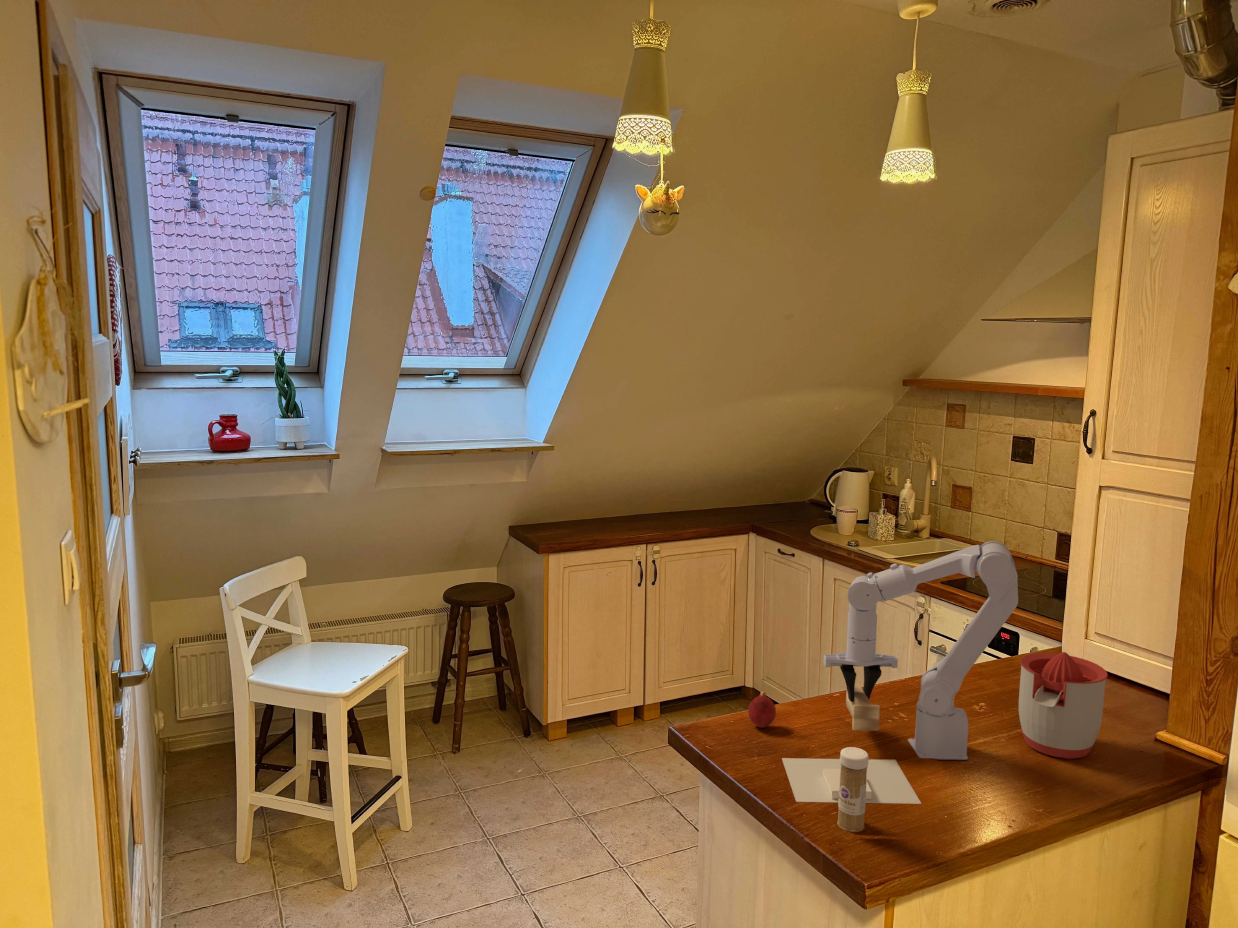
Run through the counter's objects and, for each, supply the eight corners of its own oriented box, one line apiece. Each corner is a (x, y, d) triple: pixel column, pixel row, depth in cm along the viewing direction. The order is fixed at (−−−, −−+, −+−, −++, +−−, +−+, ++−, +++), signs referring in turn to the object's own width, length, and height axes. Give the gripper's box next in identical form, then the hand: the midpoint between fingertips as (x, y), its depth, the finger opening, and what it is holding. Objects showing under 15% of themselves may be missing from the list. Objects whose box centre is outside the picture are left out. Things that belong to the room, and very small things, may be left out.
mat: (895, 762, 170) (895, 759, 170) (921, 806, 154) (921, 803, 154) (781, 760, 171) (781, 757, 171) (796, 803, 155) (796, 801, 155)
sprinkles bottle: (832, 827, 147) (835, 752, 145) (844, 816, 151) (847, 743, 149) (857, 837, 145) (861, 761, 143) (869, 826, 148) (873, 751, 146)
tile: (860, 769, 163) (871, 791, 155) (860, 777, 163) (871, 799, 155) (822, 768, 163) (832, 790, 155) (822, 776, 164) (831, 798, 156)
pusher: (863, 705, 185) (864, 682, 184) (878, 730, 173) (879, 706, 172) (839, 705, 185) (840, 682, 184) (853, 729, 173) (854, 706, 172)
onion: (775, 735, 181) (776, 699, 180) (747, 733, 182) (748, 696, 181) (775, 723, 187) (777, 687, 186) (748, 721, 188) (749, 685, 187)
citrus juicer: (998, 749, 176) (1005, 654, 173) (1030, 722, 188) (1037, 633, 185) (1082, 777, 165) (1091, 675, 162) (1111, 746, 177) (1119, 652, 174)
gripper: (892, 629, 181) (888, 692, 183) (821, 629, 181) (819, 691, 183) (902, 641, 174) (898, 706, 176) (828, 640, 174) (826, 705, 176)
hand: (858, 699), depth 179 cm, fingers closed on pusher, 2 cm apart
